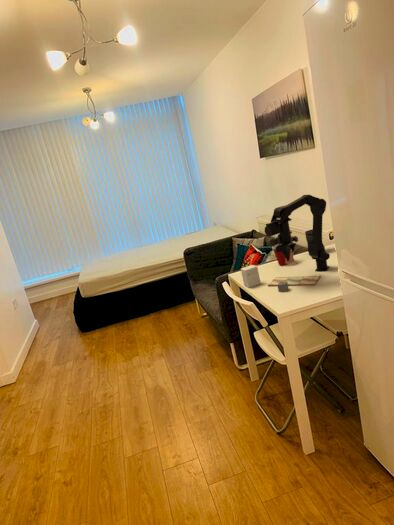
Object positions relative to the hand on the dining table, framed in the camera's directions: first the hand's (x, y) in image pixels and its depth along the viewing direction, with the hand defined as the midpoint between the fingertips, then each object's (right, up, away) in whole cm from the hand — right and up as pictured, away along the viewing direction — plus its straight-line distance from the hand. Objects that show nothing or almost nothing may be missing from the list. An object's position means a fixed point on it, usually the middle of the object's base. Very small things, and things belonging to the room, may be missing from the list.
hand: (289, 259), depth 205 cm
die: (-4, -16, -6) cm, 18 cm away
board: (+3, -12, +3) cm, 13 cm away
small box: (-18, -15, +13) cm, 27 cm away
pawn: (0, -2, 0) cm, 2 cm away
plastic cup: (+5, -3, +37) cm, 37 cm away
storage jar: (+27, +4, +43) cm, 51 cm away
